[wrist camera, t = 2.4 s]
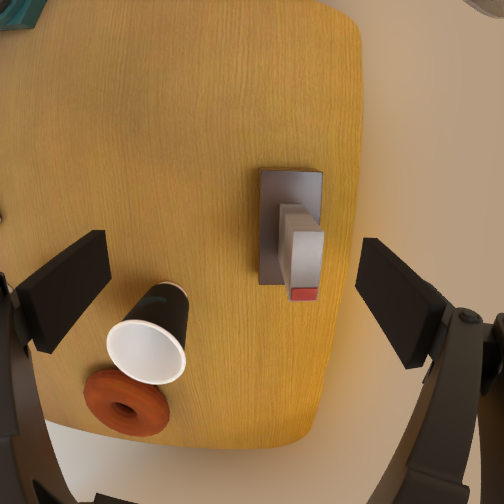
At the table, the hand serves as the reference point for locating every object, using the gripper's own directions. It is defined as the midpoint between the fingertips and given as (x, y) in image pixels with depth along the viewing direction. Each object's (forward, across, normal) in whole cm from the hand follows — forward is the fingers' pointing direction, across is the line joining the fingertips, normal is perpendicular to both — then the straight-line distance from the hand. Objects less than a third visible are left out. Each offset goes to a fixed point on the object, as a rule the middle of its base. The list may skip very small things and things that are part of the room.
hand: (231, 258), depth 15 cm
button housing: (+18, -32, +29) cm, 47 cm away
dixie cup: (+18, -8, -13) cm, 24 cm away
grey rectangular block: (+15, +5, -3) cm, 16 cm away
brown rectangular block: (+18, +5, -3) cm, 19 cm away
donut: (+18, -18, -32) cm, 41 cm away
